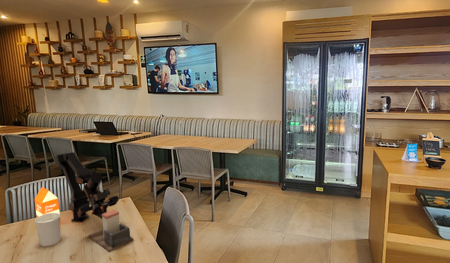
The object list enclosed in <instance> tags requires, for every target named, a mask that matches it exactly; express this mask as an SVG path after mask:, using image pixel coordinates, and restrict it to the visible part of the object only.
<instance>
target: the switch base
mask: <svg viewBox="0 0 450 263" xmlns="http://www.w3.org/2000/svg"><path fill="white" fill-rule="evenodd" d="M119 224H120V231H119V232H116V233H114V234H112V233H110V232H109V231H107V230H104V234H103V228H102V229H100V230H97V231H95V232H93V233H91V234H88V238H89V239H91V240H92V241H93V242H94V243H96V244H97V245H99V246H100V247H102V248H103V249H104V250H106V251H107V252H108V253H110V252H113V251H115V250H116V249H119V248H121V247H122V246H125V245H128V244H129V243H131V242H133V241H134V238H133V237H132V236H131V233H130V232H131V230H130V227H128V226H127V225H126V224H123V223H120V222H119Z"/></svg>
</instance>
